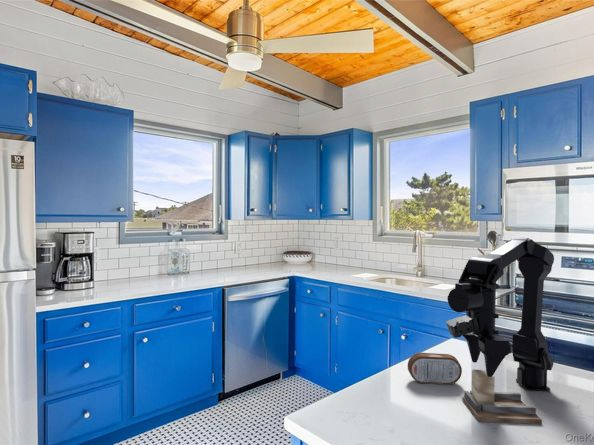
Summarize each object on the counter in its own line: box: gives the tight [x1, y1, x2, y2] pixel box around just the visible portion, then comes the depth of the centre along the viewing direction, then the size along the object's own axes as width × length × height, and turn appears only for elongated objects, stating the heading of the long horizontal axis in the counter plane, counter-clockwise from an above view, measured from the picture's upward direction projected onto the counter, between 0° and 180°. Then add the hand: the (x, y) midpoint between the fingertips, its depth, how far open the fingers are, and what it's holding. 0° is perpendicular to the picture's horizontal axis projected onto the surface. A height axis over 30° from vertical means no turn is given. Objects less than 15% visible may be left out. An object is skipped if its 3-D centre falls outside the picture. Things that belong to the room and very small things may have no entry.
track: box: [461, 390, 543, 425], centre depth 96 cm, size 14×10×2 cm
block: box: [471, 369, 496, 406], centre depth 98 cm, size 4×4×8 cm
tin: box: [407, 352, 463, 385], centre depth 113 cm, size 15×3×8 cm, turn 84°
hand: (481, 369), depth 97 cm, fingers open, 9 cm apart
